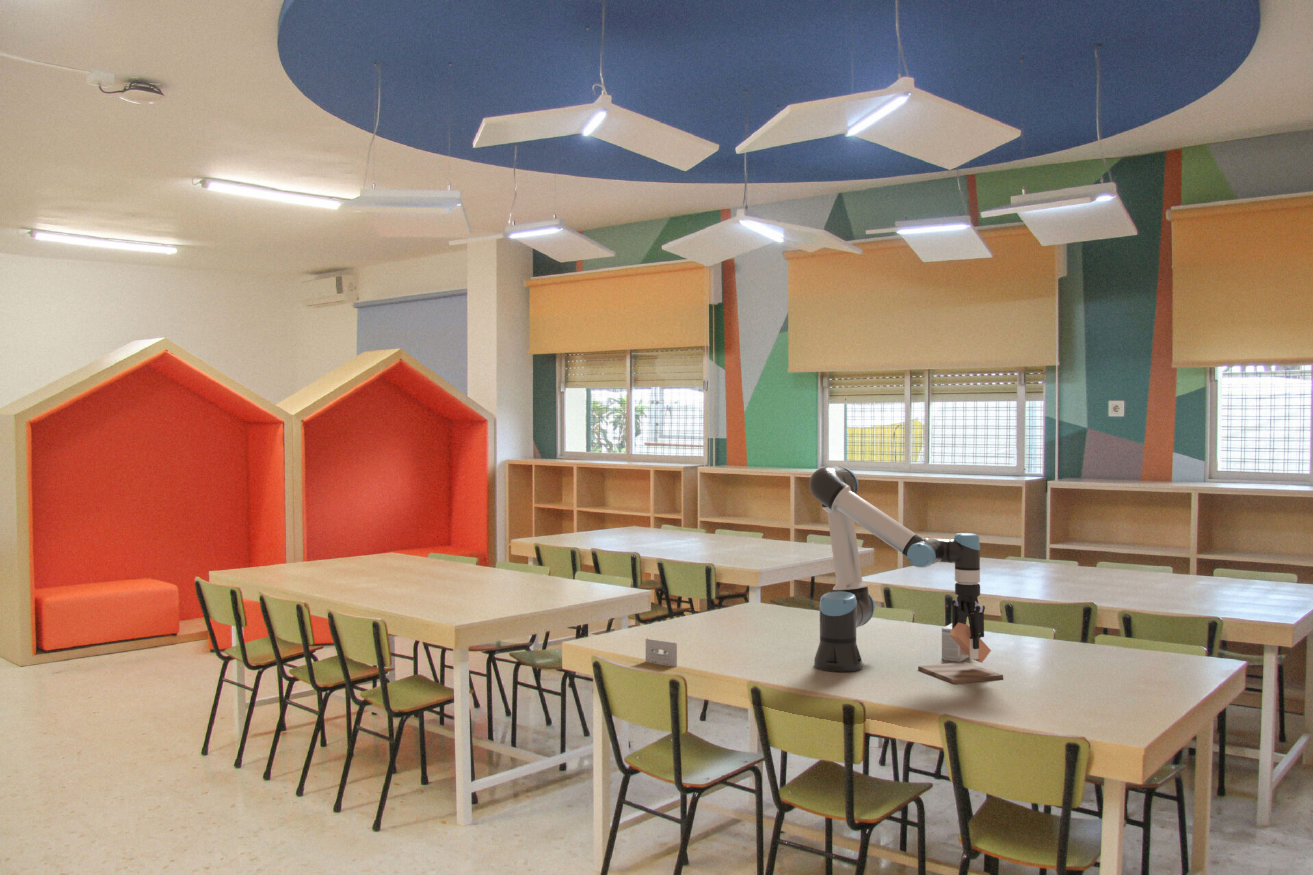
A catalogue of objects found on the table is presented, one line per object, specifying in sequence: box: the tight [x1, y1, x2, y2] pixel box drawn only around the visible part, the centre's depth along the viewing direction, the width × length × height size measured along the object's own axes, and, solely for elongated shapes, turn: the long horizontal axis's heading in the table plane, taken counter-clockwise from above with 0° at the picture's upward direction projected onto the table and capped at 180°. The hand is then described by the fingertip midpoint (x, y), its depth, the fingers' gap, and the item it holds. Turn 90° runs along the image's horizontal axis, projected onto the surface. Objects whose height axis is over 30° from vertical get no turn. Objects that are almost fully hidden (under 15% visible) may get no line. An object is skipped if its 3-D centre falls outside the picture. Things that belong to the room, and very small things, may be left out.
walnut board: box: [917, 661, 1004, 685], centre depth 286 cm, size 18×18×1 cm
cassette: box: [645, 638, 678, 668], centre depth 299 cm, size 12×2×8 cm, turn 55°
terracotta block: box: [949, 622, 992, 664], centre depth 287 cm, size 5×5×12 cm
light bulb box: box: [941, 622, 970, 663], centre depth 308 cm, size 11×7×11 cm, turn 144°
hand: (968, 656), depth 287 cm, fingers closed on terracotta block, 5 cm apart
